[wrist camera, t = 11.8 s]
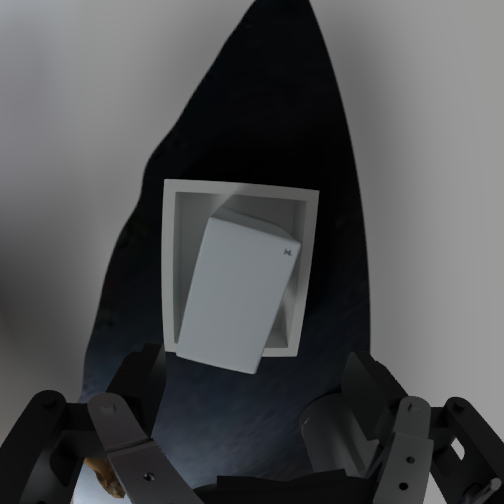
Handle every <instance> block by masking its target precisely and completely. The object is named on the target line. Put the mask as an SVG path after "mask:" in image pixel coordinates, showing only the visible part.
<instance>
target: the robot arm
mask: <svg viewBox="0 0 504 504" xmlns="http://www.w3.org/2000/svg"><path fill="white" fill-rule="evenodd" d="M165 386H166V358H165V346H164V344H160V343H153V342H146V343H145V345H144V347H143V349H142V351H141V352H136V351H133V352H132V353H130V354H129V355H128V356H126V357H125V359H124V360H123V362H122V364H121V366H120V367H119V369H118V372H116V374H115V376H114V378H113V379H112V381H111V383H110V385H109V387H108V388H107V390H106V392H105V393H100V394H97V395H95V396H93V397H92V398H91V399H90V400H89V402H88V403H84V404H81V403H67V402H66V400H65V398H64V396H63V395H62V394H61V393H59V392H57V391H53V390H45V391H41V392H39V393H37V394H36V395H34V397H33V398H32V399H31V401H30V402H29V404H28V405H27V407H26V408H25V410H24V411H23V412H22V414H21V416H20V417H19V419H18V420H17V422H16V423H15V425H14V426H13V428H12V430H11V431H10V433H9V434H8V436H7V437H6V439H5V441H4V442H3V444H2V446H1V447H0V504H70V502H71V499H72V496H73V492H74V489H75V486H76V483H77V480H78V477H79V474H80V471H81V468H82V465H83V462H84V460H85V457H86V458H107V459H108V461H109V463H110V465H111V467H112V469H113V471H114V473H115V475H116V477H117V479H118V481H119V482H120V484H121V486H122V488H123V489H124V491H125V493H126V495H127V496H128V498H129V500H130V502H131V503H132V504H423V501H424V497H425V492H426V488H427V483H428V477H429V472H430V473H431V474H432V476H433V478H434V480H435V482H436V484H437V485H438V487H439V489H440V491H441V493H442V495H443V497H444V499H445V501H446V503H447V504H504V443H503V442H502V441H501V439H500V438H499V437H498V435H497V434H496V433H495V432H494V431H493V429H492V428H491V427H490V426H489V425H488V424H487V422H486V421H485V420H484V419H483V418H482V416H481V415H480V414H479V413H478V412H477V411H476V410H475V408H474V407H473V406H472V405H471V404H470V403H469V402H468V401H467V400H465V399H463V398H460V397H451V398H449V399H448V400H447V402H446V403H445V405H444V407H430V405H429V403H428V402H427V401H425V400H424V399H422V398H420V397H416V396H408V394H407V393H406V392H405V390H404V389H403V388H402V387H401V385H400V384H399V383H398V382H397V380H395V378H394V377H393V375H391V373H390V372H389V370H388V369H387V368H386V367H385V366H384V365H382V364H381V363H379V362H378V361H375V360H374V359H373V357H372V356H371V355H370V354H369V353H368V352H367V351H364V352H351V353H350V355H349V357H348V360H347V364H346V367H345V370H344V373H343V377H342V380H341V390H342V393H333V394H329V395H326V396H323V397H321V398H319V399H317V400H315V401H314V402H312V403H311V404H310V405H308V406H307V407H306V408H305V409H304V411H303V412H302V413H301V416H300V418H299V425H300V428H301V433H302V436H303V438H304V441H305V445H306V448H307V451H308V454H309V457H310V461H311V464H312V467H313V470H314V473H313V474H310V475H307V476H304V477H301V478H297V479H294V480H290V481H286V482H281V481H274V480H267V479H261V478H255V477H243V476H217V483H216V484H209V485H205V486H201V487H198V488H195V489H193V490H192V489H191V488H190V487H189V485H188V484H187V483H186V482H185V481H184V479H183V478H182V477H181V476H180V474H179V473H178V472H177V470H176V469H175V468H174V467H173V465H172V464H171V463H170V461H169V460H168V459H167V457H166V456H165V455H164V453H163V452H162V450H161V449H160V448H159V446H158V445H157V443H156V442H155V441H154V440H153V439H152V438H150V437H151V434H152V430H153V427H154V423H155V420H156V416H157V413H158V409H159V406H160V403H161V399H162V396H163V393H164V389H165ZM455 438H457V439H458V441H459V442H460V443H461V445H462V446H463V447H464V451H465V454H464V457H463V459H462V460H460V458H459V457H458V455H457V454H456V452H455V451H454V449H453V448H452V446H451V444H452V442H453V441H454V439H455Z"/></svg>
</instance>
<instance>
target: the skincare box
mask: <svg viewBox="0 0 504 504" xmlns="http://www.w3.org/2000/svg"><path fill="white" fill-rule="evenodd" d="M300 248H301V243H300V242H298V241H297V240H295V239H294V238H293V237H291V236H290V235H289V234H288V233H287V232H286V231H285V230H283V229H282V228H281V227H280V226H279V225H278V224H277V223H274V222H271V221H268V220H264V219H261V218H258V217H254V216H251V215H247V214H244V213H241V212H237V211H234V210H230V209H226V208H222V207H219V208H218V209H217V210H216V211H215V213H214V214H213V215H212V216H211V217H210V218H209V220H208V223H207V225H206V228H205V232H204V235H203V239H202V242H201V246H200V250H199V253H198V257H197V261H196V265H195V269H194V273H193V277H192V281H191V286H190V290H189V294H188V299H187V303H186V308H185V312H184V317H183V321H182V326H181V331H180V336H179V341H178V346H177V352H176V355H177V356H179V357H183V358H186V359H189V360H193V361H197V362H201V363H205V364H209V365H213V366H217V367H222V368H226V369H231V370H235V371H240V372H245V373H250V374H254V373H256V371H257V368H258V365H259V362H260V360H261V357H262V354H263V351H264V349H265V346H266V344H267V341H268V338H269V335H270V333H271V330H272V327H273V324H274V322H275V319H276V316H277V313H278V311H279V308H280V305H281V302H282V299H283V297H284V294H285V291H286V288H287V286H288V283H289V280H290V277H291V274H292V271H293V269H294V266H295V263H296V260H297V257H298V254H299V251H300Z"/></svg>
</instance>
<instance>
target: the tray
mask: <svg viewBox="0 0 504 504" xmlns="http://www.w3.org/2000/svg"><path fill="white" fill-rule="evenodd" d="M318 198H319V191H317V190H309V189H300V188H291V187H281V186H271V185H259V184H247V183H234V182H218V181H199V180H174V179H165V181H164V198H163V219H162V309H163V330H164V346H165V351H170V352H177V346H178V341H179V336H180V331H181V326H182V321H183V317H184V312H185V308H186V303H187V299H188V294H189V290H190V286H191V281H192V277H193V273H194V269H195V265H196V261H197V257H198V253H199V250H200V246H201V242H202V239H203V235H204V232H205V228H206V225H207V223H208V220H209V218H210V217H211V216H212V215H213V214H214V213H215V211H216V210H217V209H218V208H219V207H222V208H226V209H230V210H234V211H237V212H241V213H244V214H247V215H251V216H254V217H258V218H261V219H264V220H268V221H271V222H274V223H277V224H278V225H279V226H280V227H281V228H282V229H283V230H285V231H286V232H287V233H288V234H289V235H290V236H291V237H293V238H294V239H295V240H297V241H298V242H300V243H301V248H300V251H299V254H298V257H297V260H296V263H295V266H294V269H293V271H292V274H291V277H290V280H289V283H288V286H287V288H286V291H285V294H284V297H283V299H282V302H281V305H280V308H279V311H278V313H277V316H276V319H275V322H274V324H273V327H272V330H271V333H270V335H269V338H268V341H267V344H266V346H265V349H264V351H263V354H262V356H297V352H298V346H299V340H300V335H301V329H302V323H303V317H304V310H305V304H306V297H307V290H308V283H309V276H310V269H311V261H312V253H313V245H314V237H315V228H316V219H317V209H318Z"/></svg>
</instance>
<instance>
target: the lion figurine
mask: <svg viewBox="0 0 504 504" xmlns="http://www.w3.org/2000/svg"><path fill="white" fill-rule="evenodd" d="M84 463H85V464H86V465H88V466H89V467H90V468H91V469H92V470H93V471H94V472H95V473H96V476H97V479H98V481H99V483H100V484H101V485H102V486H103V488H104V489H105V490H106V491H107V492H108V493H109V494H111V495H112V496H113V497H115V498H124V495H125V491H124V489H123V488H122V486H121V484H120V482H119V481H118V479H117V477H116V475H115V473H114V471H113V469H112V467H111V465H110V463H109V461H108V459H107V458H86V457H85V460H84Z"/></svg>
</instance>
